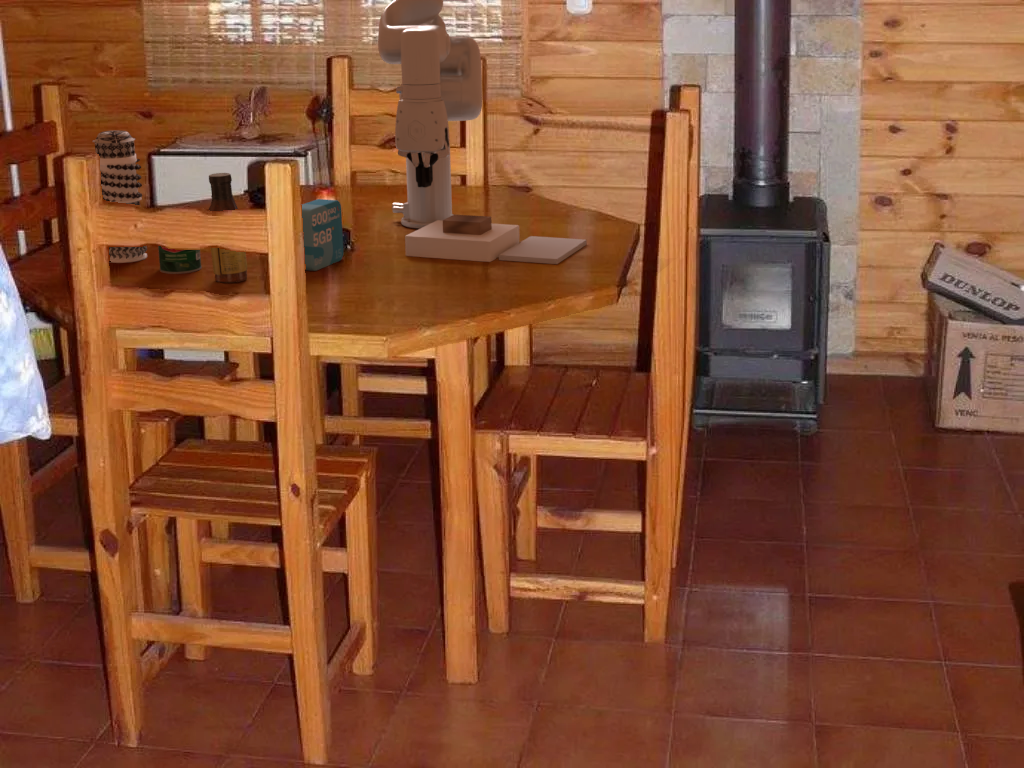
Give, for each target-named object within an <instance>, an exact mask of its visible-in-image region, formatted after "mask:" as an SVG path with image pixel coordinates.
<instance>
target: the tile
mask: <svg viewBox="0 0 1024 768" xmlns="http://www.w3.org/2000/svg"><path fill="white" fill-rule="evenodd" d="M492 224H493V222H492V216H489V215H488V216H485V215H484V216H483V215H468V214H456V213H455V214H454V215H452V216H450V217H448V218H446V219H444V220H443V233H456V234H471V235H482V234H483V233H485V232H487V231H489V230H491V229H492Z"/></svg>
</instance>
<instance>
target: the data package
mask: <svg viewBox="0 0 1024 768" xmlns="http://www.w3.org/2000/svg"><path fill="white" fill-rule="evenodd" d="M301 205H302V218H303V232H304V247H305V264H306V270H305V271H310V272H311V271H312V272H316V271H319V270H322V269H324V268H326V267H328V266H331V265H332V264H333V263H334V264H336V263H338V262H340V261H341V260H342V259H343V257H344V238H343V237H344V236H343V221H342V220H343V219H342V217H343V216H342V204H341V202H340V201H339V200H337V199H336V200H335V199H323V198H319V199H318V198H316V199H314V200H311V201H309V202H305V203H302V204H301Z"/></svg>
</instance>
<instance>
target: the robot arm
mask: <svg viewBox="0 0 1024 768" xmlns="http://www.w3.org/2000/svg"><path fill="white" fill-rule="evenodd" d="M463 1H464V2H465V1H466V0H393V1H392V2H391V3H389V4H387V6H386V7H385V8H384V10H383V11H382V13H381V15H380V17H379V18H380V19H379V24H378V37H377V47H378V52H379V56H380V58H381V60H382V61H383V62H384V63H386V64H389V65H400V66H401V84H400V86H396V87H395V88H396V89H395V91H396V94H399V97H398V98H399V99H398V103H397V107H396V113H395V114H396V115H395V131H394V132H395V134H394V135H395V136H394V142H395V147H396V149H397V154H398V156H400V157H404V158H405V166H406V168H405V169H406V193H407V195H406V196H407V197H406V198H407V201H406V202H404V203H402V202H393V203H392V205H391V210H392V213H393V214H395V213H396V214H402V215H403V217H401V219H400V223H401V225H402V226H404V227H407V228H412V229H420V228H422V227H425V226H427V225H429V224H431V223H433V222H435V221H437V220H444V219H446V218H448V217H450V216H452V215H454V214H453V210H452V209H453V203H452V174H451V173H452V172H451V171H452V169H451V165H452V164H451V145H450V144H451V143H450V128H449V122H458V121H459V122H460V121H461V122H463V121H474V120H476V119H477V118H478V117H479V116H480V114H481V112H482V107H483V82H482V58H481V57H482V56H481V51H480V47H479V45H478V43H477V42H476V40H475V39H474V38H472V37H469V36H450V35H449V34H450V33H448V32H447V28H446V23H445V21H444V20H443V18H442V17H441V15H439V14H440V13H441V11H442V9H443V7H444V2H463Z"/></svg>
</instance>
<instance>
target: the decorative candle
mask: <svg viewBox="0 0 1024 768" xmlns="http://www.w3.org/2000/svg"><path fill="white" fill-rule="evenodd" d="M135 140H136V138H135V137H133V136H132V135H131V134H130V133H129V132H128V131H126V130H104V131H101V132H99V133H98V134H97V136H96V138H95V139H94V140H92V143H94V149H95V154H96V153H97V154H99V156H100V171H101V186H102V195H103V199H104V200H106V201H110V202H118V203H126V204H135V205H140V206H141V201H142V200H143V199H142V197H143V194H142V193H141V192H139V189H140V188H142V187H143V184H142V183H141V182H139V181H140V180H141V179H142V175H140V174H138V173H137V171H139V170H140V169H142V166H141V165H140V164H139V163H138V162H140V161H141V158H140V159H139V158H137V153H136V148H135V147H136V146H135ZM147 251H148V246H147V245H146V246H143V247H109V255H110V261H111V262H110V263H113V264H115V263H116V264H123V263H133V262H139V261H142V260H146V259H147V258H148V253H146V252H147Z"/></svg>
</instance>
